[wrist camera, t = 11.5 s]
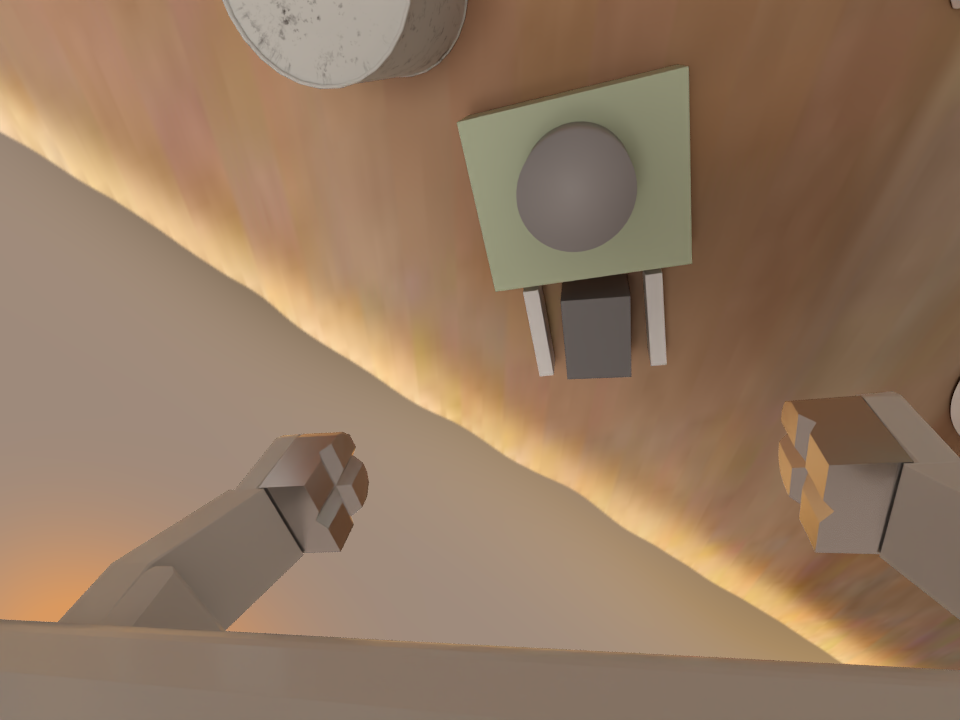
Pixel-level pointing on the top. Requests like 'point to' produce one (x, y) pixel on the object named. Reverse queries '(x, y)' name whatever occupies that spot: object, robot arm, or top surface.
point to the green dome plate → (585, 191)
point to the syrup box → (955, 4)
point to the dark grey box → (597, 327)
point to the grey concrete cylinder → (348, 37)
